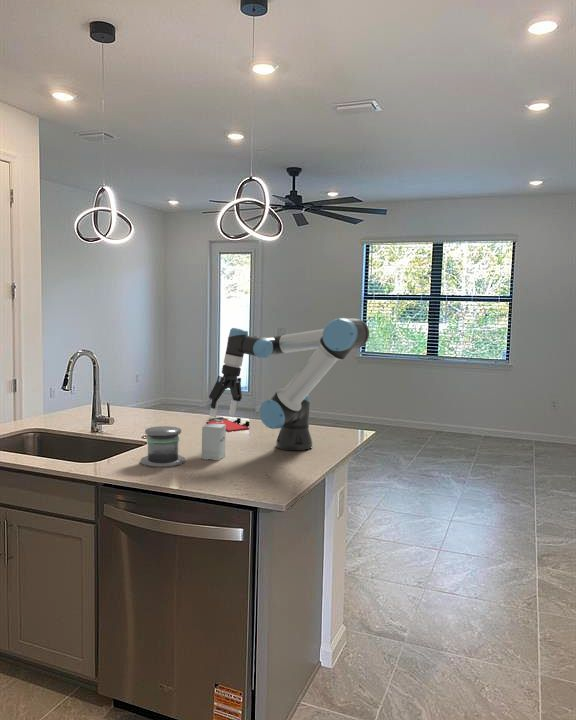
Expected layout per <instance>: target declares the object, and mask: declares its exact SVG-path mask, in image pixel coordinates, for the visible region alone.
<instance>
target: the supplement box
mask: <svg viewBox="0 0 576 720" xmlns="http://www.w3.org/2000/svg"><path fill="white" fill-rule="evenodd" d="M201 428H202V430H201V431H202V432H201V459H202V460H208V459H213V460H212V461H220V460H221V459H222V458H224V457H225V456H226V432H227V431H226V424H210V423H208V424H205V425H203V426H202V427H201Z"/></svg>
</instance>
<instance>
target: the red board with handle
mask: <svg viewBox="0 0 576 720" xmlns="http://www.w3.org/2000/svg"><path fill="white" fill-rule="evenodd" d="M205 423H210V424H226V432H228V433H231V432H232V431H233V432H240V430H241V431H249V430H250V421H248V420H246V421H245V422H244V423H242V421H241V418H240V417H237V418H236V419H235V420H233V421H232V420H229V419H228V418H225V417H223V416H219V417H212V418H208V420H207V421H206V422H205ZM238 423H242V424H238ZM247 426H249V427H247ZM233 432H232V433H233Z"/></svg>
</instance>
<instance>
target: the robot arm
mask: <svg viewBox="0 0 576 720" xmlns="http://www.w3.org/2000/svg"><path fill="white" fill-rule="evenodd" d="M369 338H370V328H369V325H367V323H366V322H365V321H363V320H362V319H359V318H347V317H339V318H336V319H333V320H331V321H329V322H328V323H327V324H326V325H325V327H324V328H321V329H320V328H319V329H316V330H308V331H302V332H295V333H289V334H284V335H275V336H264V337H263V336H262V337H259V336H258V337H255V336H250V335H249V331H248V330H246V329H242V328H241V329H240V328H237V327H232V328H230V330H229V334H228V337H227V343H226V344H227V345H226V349H225V350H226V351H225V354H224V359H223V365H222V368H221V374H223V375H222V376H220V375H218V376H217V378H216V382H215V384H214V386H213V388H212V390H211V392H210V393H209V395H208V398H209V400H211V404H210V411H209V415H208V416H210V417H212V418H217V411H218V407H219V402H220V401H219V399H220V398H221V396H222V395H223V393H224V392H225V390H228V389H229V390H230V393H231V397H232V399H231V400H230V406H229V411H228V416H230V417H231V416H232V417H235V416H236V411H237V406H238V402H241V400H242V399H243V398H242V397H243V396H242V395H243V394H242V385H241V384H242V383H241V382H242V378H241V377H240V375H241V371H242V370H241V369H242V368H241V367H242V366H243V360H244V354H245V355H249V356H253V357H258V358H260V359H261V358H262V359H267V358H269V357H270V356H272V355H273V356H275V355H282V354H287V353H294V352H302V351H310V350H315V351H314V352H313V353H312V355H311V356H310V357H309V358H308V359H307V361H306V362H305V363H304V364H303V365H302V366H301V368H300V369H299V370H298V371H297V372H296V374H295V375H294V376H293V378H292V379H291V380H290V381H289V382H288V384H286V386H285V387H284V388H279V389H278V390H277V391H275V393H274V394H273V396H272V397H271V398H270V399H268V398H267V399H266V400H265V401H262V403H261V404H260V406H259V412H258V413H259V417H260V418H259V419H260V420H261V422H262V424H263V425H264V426H265V427H267V428H268V429H271V430H278V429H279V430H280V431H279V432H278V435H277V439H276V442H275V443H276V446H275V447H276V448H278V449H280V450H283V449H284V450H285V451H290V450H302V451H306V450H305V449H308V450H310V449H309V448H311V447H312V448H313V440H312V437H311V432H310V429H309V428H310V426H309V425H310V403H311V401H310V396H309V394H310V393H311V392H312V391H313V389H314V388H315V387H316V386H317V385H318V384H319V383H320V381H321V380H322V379H323V378H324V377H325V375H327V373H328V372H329V371H330V370H331V369H332V367H333V366H334V365H335V364H336V362H338V361H343V360H345V358H346V357H347V356H348V355H349V354H350V353H351V352H352V350H355V349H356V350H357V349H360V348H362V347H364V346H365V345H366V344H367V342H368V341H369ZM312 448H311V449H312Z"/></svg>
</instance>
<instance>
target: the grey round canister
mask: <svg viewBox="0 0 576 720" xmlns="http://www.w3.org/2000/svg"><path fill="white" fill-rule="evenodd" d="M181 433H182V429H181V428H180V427H176V426H170V425H169V426H166V425H164V426H163V425H162V426H161V425H160V426H151V427H148V428H145V430H144V434H145V435H147V437H146V442H147V455H145V456H144V457H142V458H140V464H141V465H142V464H143V465H142V466H144V465H145V466H144V467H147V466H151V467H150V468H154V467H167V468H171V467H170V466H175V467H177V466H176V465H179V466H181V465H180V464H182V463H184V462H185V463H186V458H185V456H183V455H180V454H179V442H180V436H179V435H180V434H181ZM185 463H184V464H185ZM182 465H183V464H182Z"/></svg>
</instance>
